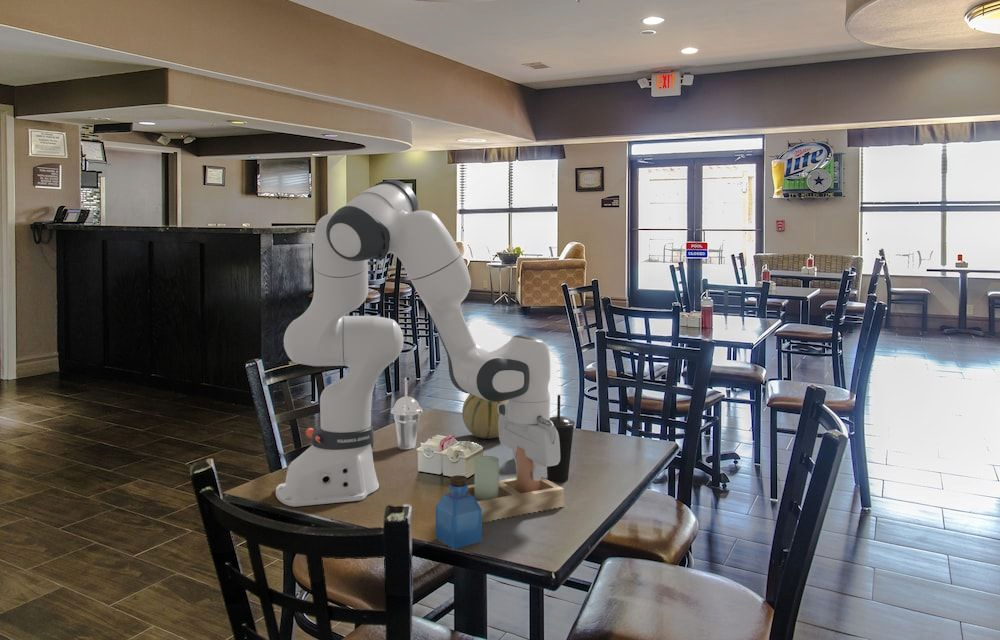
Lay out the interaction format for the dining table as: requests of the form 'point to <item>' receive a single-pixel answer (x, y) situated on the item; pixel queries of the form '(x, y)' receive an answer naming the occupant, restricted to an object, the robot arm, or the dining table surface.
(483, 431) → the cantaloupe
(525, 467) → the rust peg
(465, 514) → the perfume bottle
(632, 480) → the dining table surface
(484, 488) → the green peg
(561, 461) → the drinking cup
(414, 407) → the cup with straw
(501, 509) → the wooden tray
